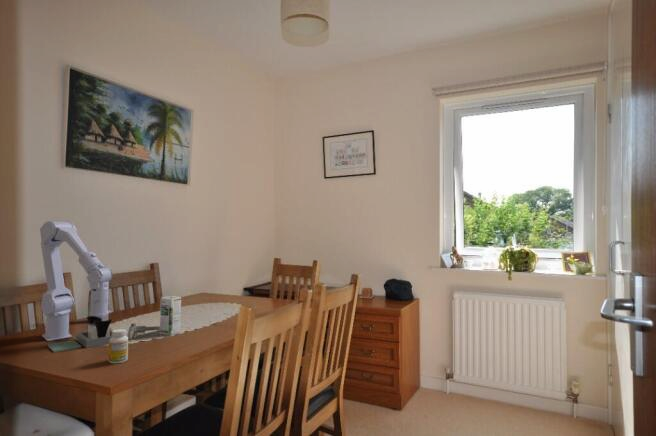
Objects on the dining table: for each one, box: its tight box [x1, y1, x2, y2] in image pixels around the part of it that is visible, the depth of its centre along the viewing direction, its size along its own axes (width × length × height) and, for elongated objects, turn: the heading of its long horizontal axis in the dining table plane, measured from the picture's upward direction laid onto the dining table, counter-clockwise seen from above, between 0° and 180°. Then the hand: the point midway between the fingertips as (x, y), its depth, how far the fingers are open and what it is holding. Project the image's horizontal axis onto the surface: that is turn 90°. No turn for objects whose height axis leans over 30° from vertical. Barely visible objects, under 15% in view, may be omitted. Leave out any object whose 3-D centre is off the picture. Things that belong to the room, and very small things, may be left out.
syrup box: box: [159, 295, 182, 336], centre depth 163 cm, size 6×6×14 cm
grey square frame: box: [75, 328, 114, 349], centre depth 151 cm, size 13×11×2 cm
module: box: [87, 323, 111, 340], centre depth 151 cm, size 4×6×7 cm
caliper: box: [127, 322, 160, 341], centre depth 162 cm, size 20×1×6 cm, turn 156°
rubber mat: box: [47, 339, 82, 353], centre depth 143 cm, size 10×8×1 cm
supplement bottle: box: [108, 328, 129, 364], centre depth 130 cm, size 5×5×10 cm
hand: (98, 337), depth 151 cm, fingers open, 6 cm apart
